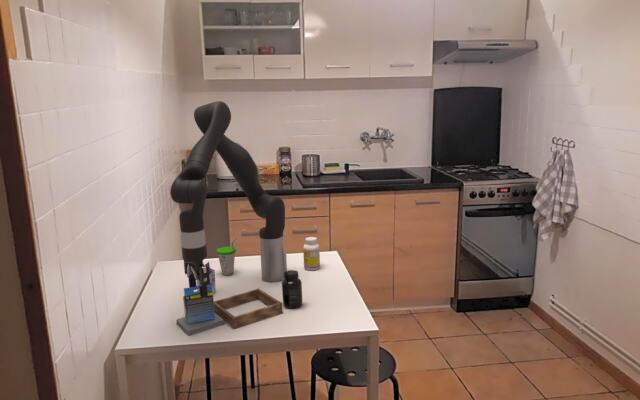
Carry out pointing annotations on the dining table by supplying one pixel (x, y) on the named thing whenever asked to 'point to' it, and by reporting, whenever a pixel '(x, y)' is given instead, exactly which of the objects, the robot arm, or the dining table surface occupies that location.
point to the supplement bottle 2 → (311, 254)
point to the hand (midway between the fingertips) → (198, 292)
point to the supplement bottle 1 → (292, 290)
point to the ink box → (212, 278)
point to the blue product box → (198, 305)
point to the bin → (250, 317)
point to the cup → (227, 259)
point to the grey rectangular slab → (199, 325)
